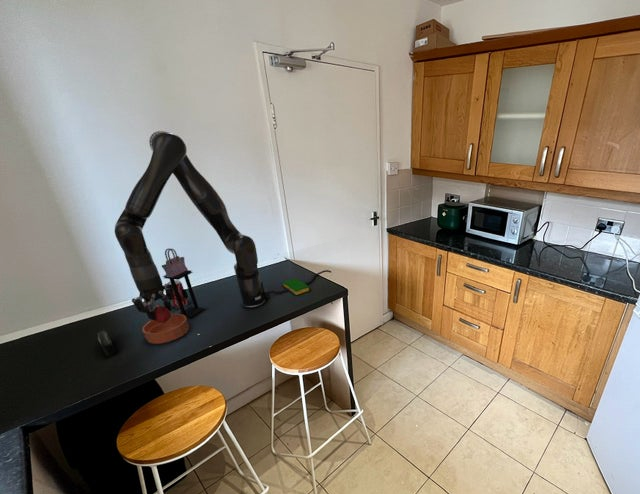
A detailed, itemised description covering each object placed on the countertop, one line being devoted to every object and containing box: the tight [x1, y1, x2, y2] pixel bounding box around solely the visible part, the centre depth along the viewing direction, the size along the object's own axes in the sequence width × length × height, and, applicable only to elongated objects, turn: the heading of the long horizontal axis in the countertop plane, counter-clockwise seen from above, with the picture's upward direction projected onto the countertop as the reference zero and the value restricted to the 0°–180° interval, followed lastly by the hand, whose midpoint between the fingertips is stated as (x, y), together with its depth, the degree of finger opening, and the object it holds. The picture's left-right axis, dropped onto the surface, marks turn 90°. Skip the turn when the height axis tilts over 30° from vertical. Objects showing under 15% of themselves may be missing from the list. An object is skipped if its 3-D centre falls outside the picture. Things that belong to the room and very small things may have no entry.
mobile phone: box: [97, 330, 117, 356], centre depth 115 cm, size 5×3×15 cm
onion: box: [152, 304, 172, 323], centre depth 120 cm, size 6×6×8 cm
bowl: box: [141, 313, 190, 345], centre depth 123 cm, size 14×14×5 cm
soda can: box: [166, 279, 189, 309], centre depth 141 cm, size 6×6×12 cm
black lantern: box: [161, 247, 206, 319], centre depth 131 cm, size 10×8×30 cm
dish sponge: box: [282, 277, 310, 296], centre depth 159 cm, size 7×14×2 cm, turn 44°
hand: (161, 314), depth 120 cm, fingers closed on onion, 5 cm apart
